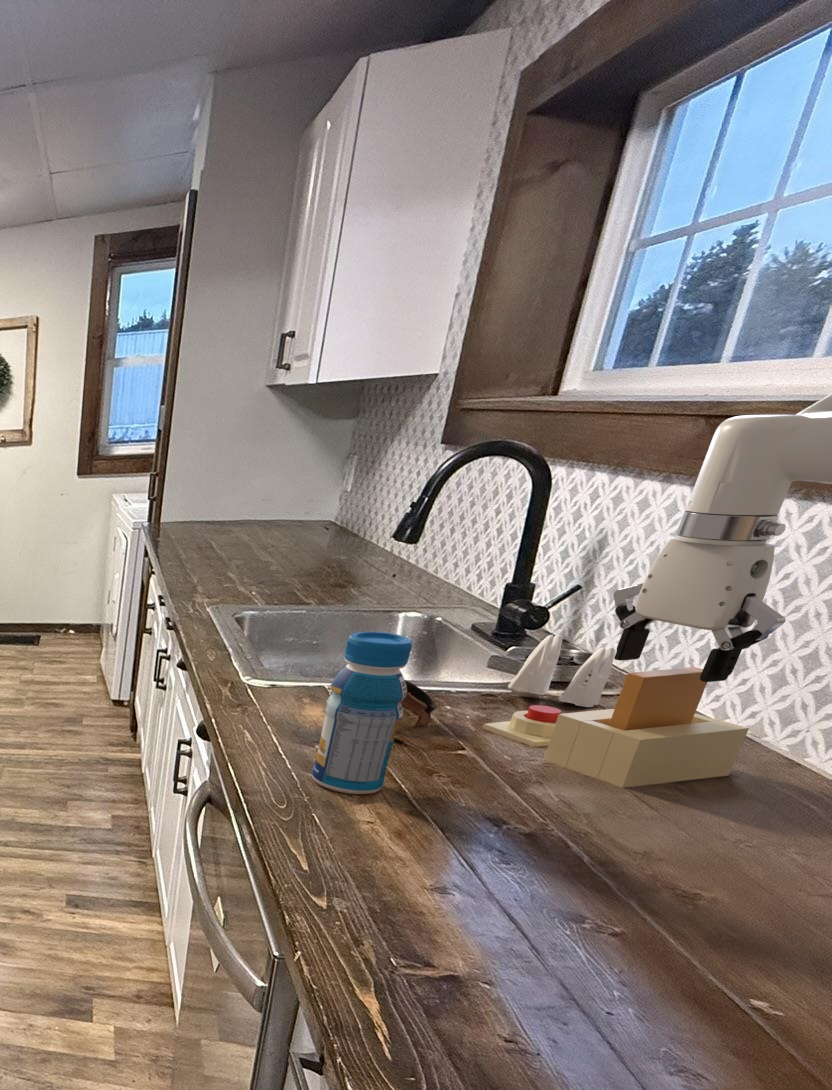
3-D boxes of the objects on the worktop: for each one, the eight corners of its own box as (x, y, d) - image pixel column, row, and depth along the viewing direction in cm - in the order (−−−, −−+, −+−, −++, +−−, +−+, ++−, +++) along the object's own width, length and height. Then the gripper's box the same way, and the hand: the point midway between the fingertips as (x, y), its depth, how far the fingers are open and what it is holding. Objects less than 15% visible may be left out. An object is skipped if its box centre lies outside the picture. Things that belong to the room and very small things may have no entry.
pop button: (540, 715, 121) (543, 704, 120) (564, 723, 118) (568, 711, 117) (519, 717, 120) (522, 706, 120) (543, 725, 117) (546, 714, 117)
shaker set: (504, 698, 139) (524, 634, 135) (504, 692, 142) (523, 629, 138) (599, 710, 132) (623, 643, 128) (597, 703, 135) (621, 637, 131)
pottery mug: (367, 712, 136) (408, 674, 131) (410, 752, 131) (455, 715, 125) (325, 706, 131) (367, 667, 126) (368, 748, 125) (413, 709, 120)
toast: (656, 760, 110) (693, 666, 105) (673, 766, 108) (712, 671, 103) (592, 768, 108) (627, 673, 103) (608, 773, 106) (644, 677, 101)
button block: (537, 731, 125) (545, 706, 123) (591, 750, 118) (600, 723, 116) (479, 737, 123) (487, 712, 122) (530, 756, 116) (539, 730, 115)
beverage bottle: (343, 800, 106) (380, 648, 98) (294, 775, 113) (325, 632, 105) (399, 792, 107) (439, 642, 99) (347, 768, 115) (381, 627, 107)
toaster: (639, 757, 114) (659, 703, 111) (727, 787, 105) (752, 728, 102) (537, 768, 112) (555, 713, 109) (618, 800, 103) (641, 740, 100)
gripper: (846, 536, 89) (777, 687, 96) (668, 519, 105) (619, 650, 111) (789, 539, 88) (723, 692, 95) (618, 522, 104) (572, 654, 110)
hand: (667, 669), depth 103 cm, fingers open, 9 cm apart
